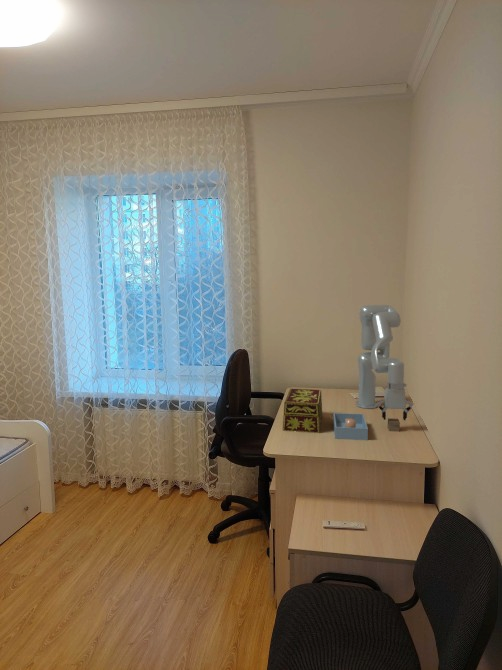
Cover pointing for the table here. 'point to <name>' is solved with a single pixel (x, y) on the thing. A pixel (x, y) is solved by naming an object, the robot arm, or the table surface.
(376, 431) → the table surface
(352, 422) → the canister
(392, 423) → the walnut block
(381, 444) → the table surface
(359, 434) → the tote
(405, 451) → the table surface
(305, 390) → the decorative box
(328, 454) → the table surface
